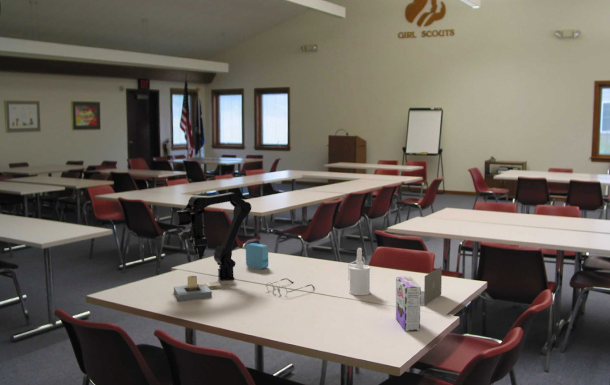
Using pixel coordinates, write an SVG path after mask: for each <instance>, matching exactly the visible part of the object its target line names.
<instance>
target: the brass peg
mask: <svg viewBox="0 0 610 385" xmlns="http://www.w3.org/2000/svg"><path fill="white" fill-rule="evenodd" d="M197 284H198V277H197V276H196V275H188V276H187V285H188V292H191V291H197Z"/></svg>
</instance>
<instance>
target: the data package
mask: <svg viewBox="0 0 610 385" xmlns="http://www.w3.org/2000/svg"><path fill="white" fill-rule="evenodd" d="M245 265H246V267H248V266H249V268H252V267H254V268H253V269H257V268H259V269H258V270H263V268H264V269H267V268H268V267H269V247H268V245H267V244H261V243H255V242H252V243H247V244H246V245H245Z"/></svg>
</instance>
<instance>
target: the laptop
mask: <svg viewBox="0 0 610 385" xmlns="http://www.w3.org/2000/svg"><path fill="white" fill-rule="evenodd" d="M442 270H443V269H442V266H440V267H438V268H436V269H435V270H433V271H430V272H429V273H428V274H426V275H424V286H423V287H424V289H423V290H424V291H423V290H421V299H420V307H421V306H422V307H425V306H427V305H429V304H431V303H432V302H433V301H435V300H436V299H438V298H439V297H441V295H442V279H443V276H442Z"/></svg>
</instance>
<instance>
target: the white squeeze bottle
mask: <svg viewBox="0 0 610 385" xmlns="http://www.w3.org/2000/svg"><path fill="white" fill-rule="evenodd" d="M365 261H366V259H365V258H364V256H363V249H362V247H357V249H356V259H355V260H354V261H352V262H349V263H348V267H347V268H348V272H347V273H348V281H349V290H348V293H349V294H351V295H352V296H361V297H362V296H367V295H369V294H371V290H370V288H371V286H370V283H371V282H370V280H371V279H370V278H371V277H370V276H371V274H370V272H371V271H370V270H371V265H370V266H369V265H368V264H365ZM353 263H356V264H353Z"/></svg>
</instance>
